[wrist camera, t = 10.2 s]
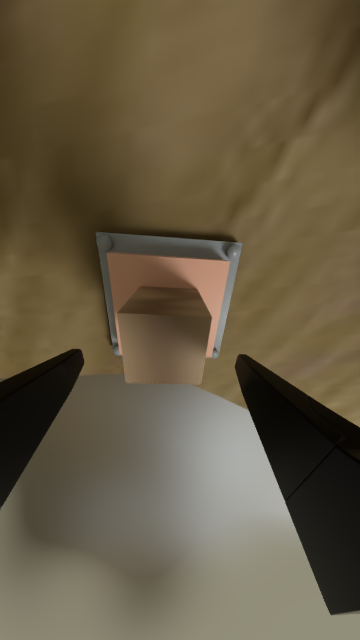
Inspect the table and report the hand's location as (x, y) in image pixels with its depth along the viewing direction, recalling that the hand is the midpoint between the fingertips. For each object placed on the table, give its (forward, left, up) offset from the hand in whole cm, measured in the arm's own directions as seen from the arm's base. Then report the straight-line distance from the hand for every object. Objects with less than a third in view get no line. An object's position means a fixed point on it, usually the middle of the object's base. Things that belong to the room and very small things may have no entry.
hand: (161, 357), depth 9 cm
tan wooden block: (0, 0, -6) cm, 6 cm away
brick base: (0, 0, -9) cm, 9 cm away
